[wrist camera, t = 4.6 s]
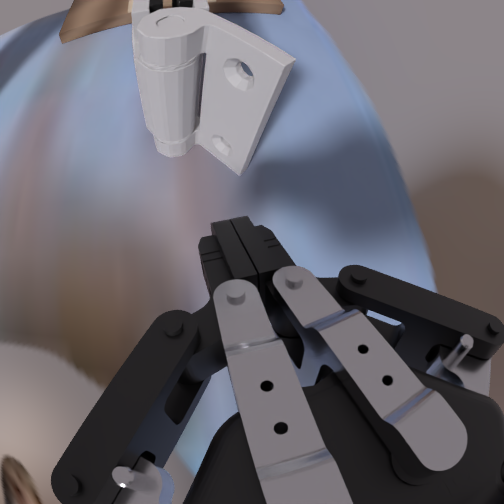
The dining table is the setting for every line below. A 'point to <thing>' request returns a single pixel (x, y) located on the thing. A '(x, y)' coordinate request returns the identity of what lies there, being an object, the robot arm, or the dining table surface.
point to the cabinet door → (120, 7)
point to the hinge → (214, 84)
